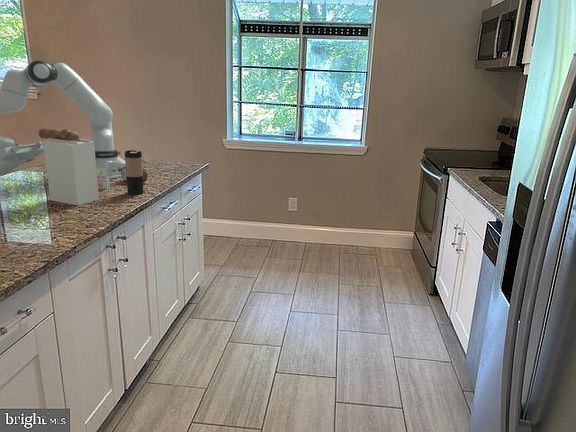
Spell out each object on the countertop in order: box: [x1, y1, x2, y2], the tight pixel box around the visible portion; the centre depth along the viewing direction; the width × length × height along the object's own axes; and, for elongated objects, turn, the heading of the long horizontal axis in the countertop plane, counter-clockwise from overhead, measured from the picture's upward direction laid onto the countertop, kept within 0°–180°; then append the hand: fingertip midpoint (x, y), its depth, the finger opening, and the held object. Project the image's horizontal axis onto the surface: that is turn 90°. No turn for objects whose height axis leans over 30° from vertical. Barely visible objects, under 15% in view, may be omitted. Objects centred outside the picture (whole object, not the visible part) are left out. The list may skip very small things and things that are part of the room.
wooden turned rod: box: [38, 127, 80, 141], centre depth 191 cm, size 20×5×5 cm, turn 68°
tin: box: [121, 167, 148, 184], centre depth 232 cm, size 15×3×8 cm, turn 71°
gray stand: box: [42, 138, 100, 206], centre depth 194 cm, size 16×12×27 cm
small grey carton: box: [96, 168, 111, 190], centre depth 218 cm, size 4×7×10 cm, turn 92°
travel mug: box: [124, 149, 144, 196], centre depth 211 cm, size 8×8×20 cm
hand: (31, 144), depth 199 cm, fingers open, 8 cm apart
